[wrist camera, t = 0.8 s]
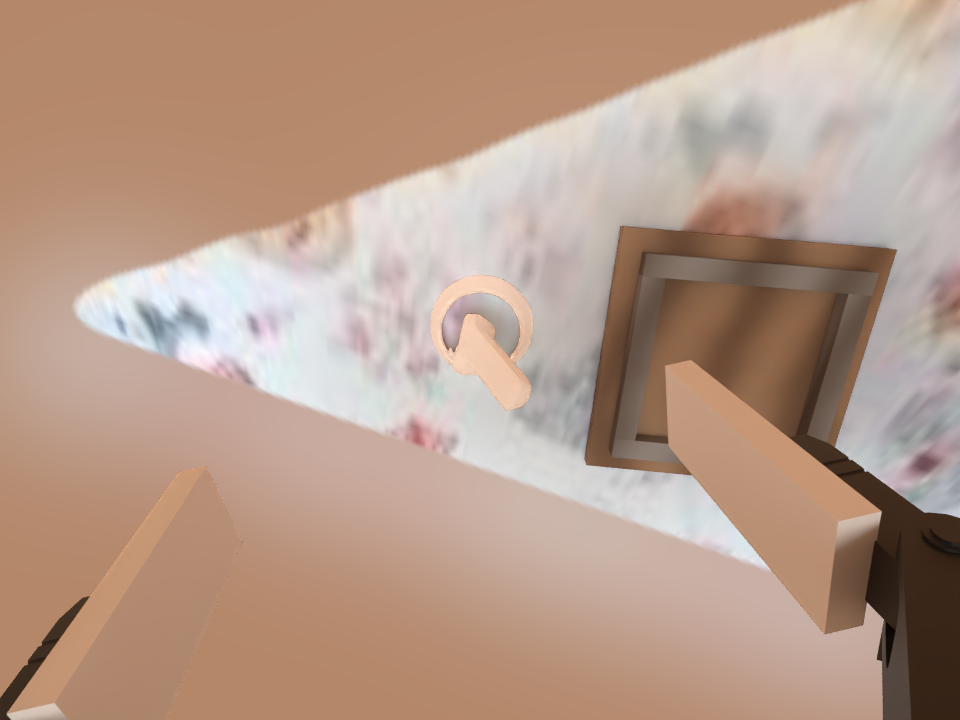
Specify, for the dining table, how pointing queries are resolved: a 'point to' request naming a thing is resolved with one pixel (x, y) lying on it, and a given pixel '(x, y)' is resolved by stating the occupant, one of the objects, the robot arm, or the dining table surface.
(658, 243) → the picture frame
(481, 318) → the hook
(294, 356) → the dining table surface
